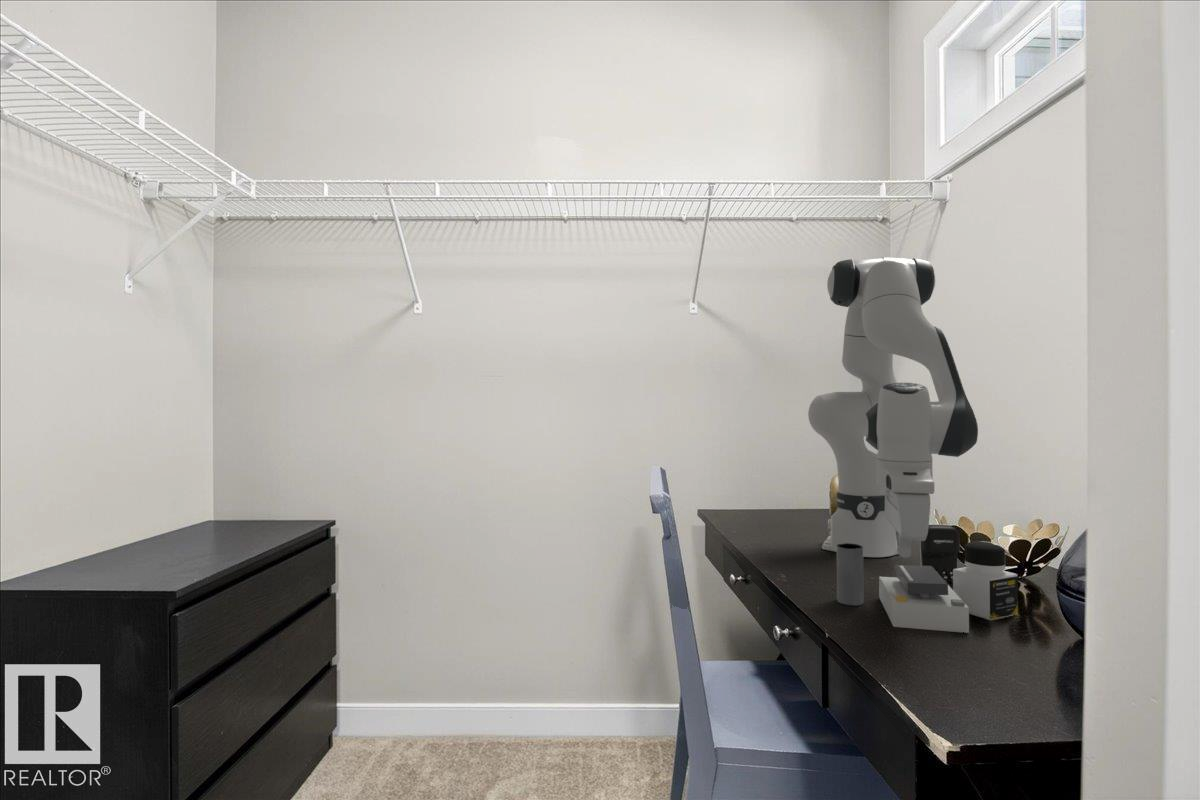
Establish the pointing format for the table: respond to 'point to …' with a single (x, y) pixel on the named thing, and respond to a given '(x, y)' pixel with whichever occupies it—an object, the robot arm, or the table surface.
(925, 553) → the battery charger
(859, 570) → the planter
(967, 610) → the panel
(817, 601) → the table surface
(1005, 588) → the medicine bottle
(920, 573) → the dark gray slim case
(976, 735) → the table surface
